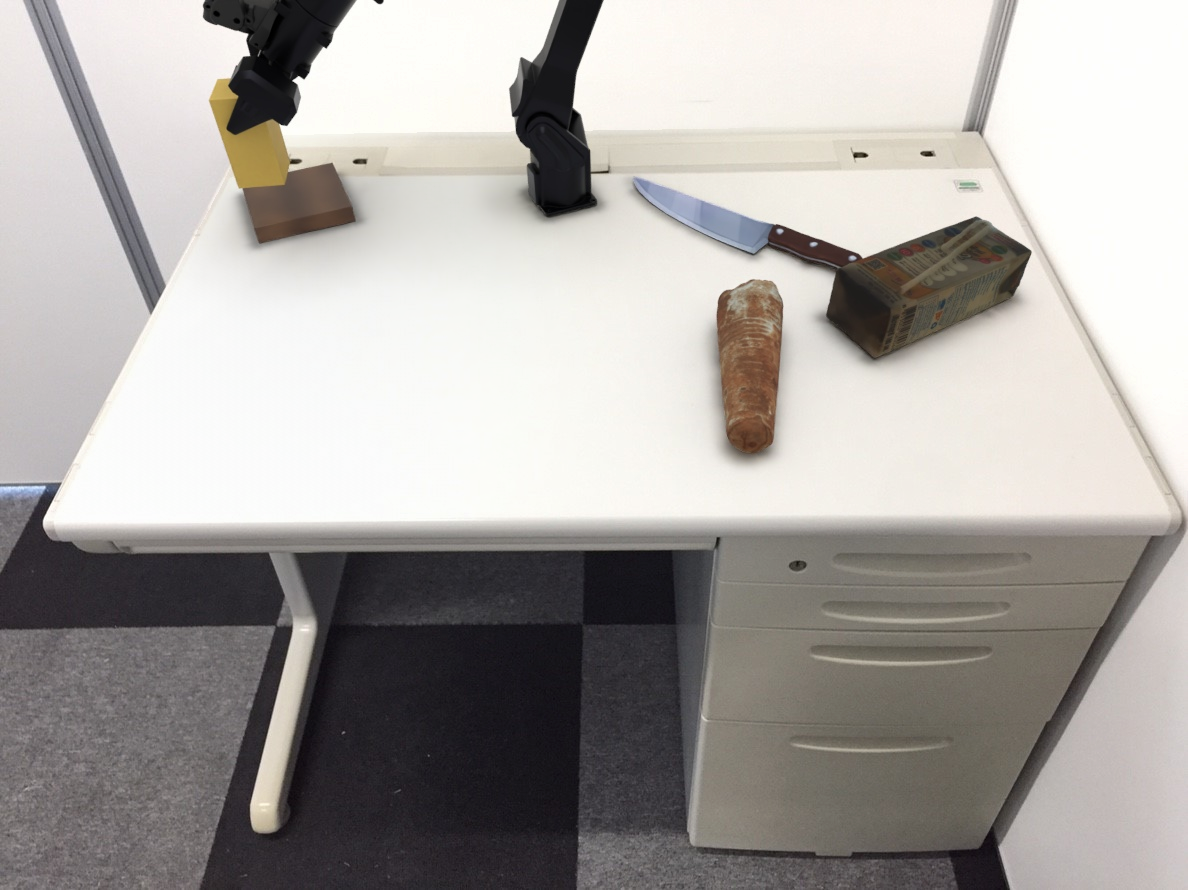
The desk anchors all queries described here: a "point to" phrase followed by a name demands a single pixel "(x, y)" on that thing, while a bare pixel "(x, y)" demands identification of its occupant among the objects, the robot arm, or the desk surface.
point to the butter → (250, 144)
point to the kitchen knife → (742, 227)
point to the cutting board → (299, 204)
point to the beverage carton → (925, 284)
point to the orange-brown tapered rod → (750, 361)
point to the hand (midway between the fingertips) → (234, 119)
